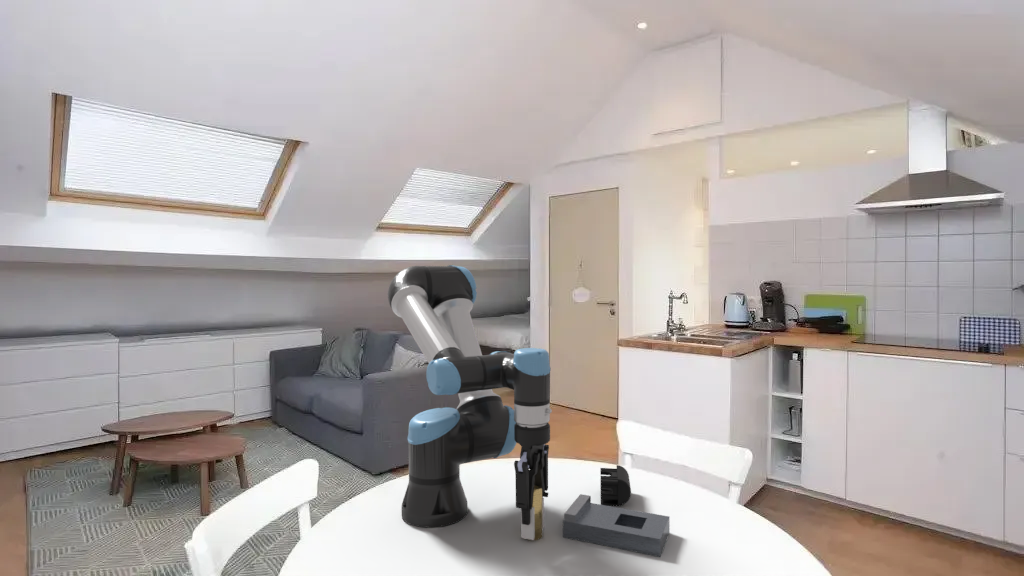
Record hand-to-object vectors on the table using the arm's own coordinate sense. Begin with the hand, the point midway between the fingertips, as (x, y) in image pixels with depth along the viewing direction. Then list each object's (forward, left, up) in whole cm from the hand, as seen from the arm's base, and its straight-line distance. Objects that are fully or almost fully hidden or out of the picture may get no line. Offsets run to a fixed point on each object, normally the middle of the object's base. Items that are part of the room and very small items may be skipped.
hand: (532, 532), depth 117 cm
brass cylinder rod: (0, 0, -1) cm, 1 cm away
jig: (+16, +7, -1) cm, 18 cm away
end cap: (+11, +26, -1) cm, 28 cm away
